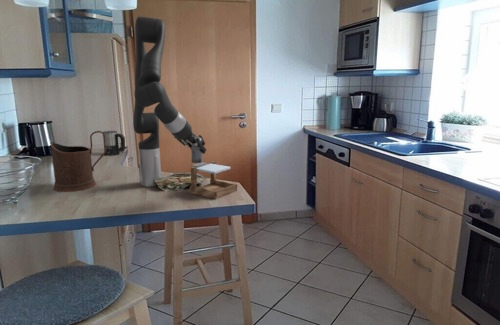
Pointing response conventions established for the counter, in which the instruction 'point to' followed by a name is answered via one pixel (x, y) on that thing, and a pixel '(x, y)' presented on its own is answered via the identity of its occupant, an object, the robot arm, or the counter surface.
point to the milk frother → (113, 143)
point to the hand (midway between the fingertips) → (200, 151)
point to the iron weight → (196, 154)
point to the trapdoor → (210, 167)
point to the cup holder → (73, 167)
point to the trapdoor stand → (211, 186)
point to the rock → (177, 181)
